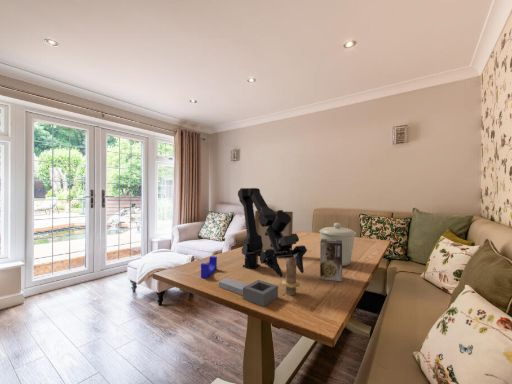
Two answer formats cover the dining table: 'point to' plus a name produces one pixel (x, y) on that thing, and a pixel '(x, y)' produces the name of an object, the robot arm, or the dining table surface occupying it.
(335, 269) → the coffee box
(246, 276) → the dining table surface
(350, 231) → the canister
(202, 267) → the blue arched block
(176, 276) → the dining table surface
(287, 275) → the walnut pin
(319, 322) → the dining table surface
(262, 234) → the photo frame
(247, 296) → the hitch block
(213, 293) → the dining table surface
